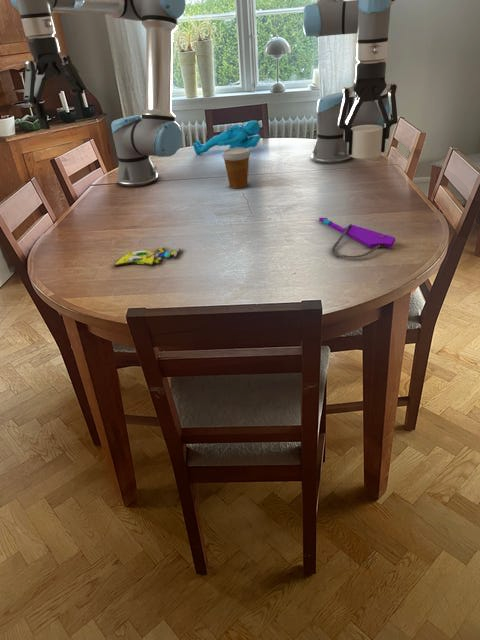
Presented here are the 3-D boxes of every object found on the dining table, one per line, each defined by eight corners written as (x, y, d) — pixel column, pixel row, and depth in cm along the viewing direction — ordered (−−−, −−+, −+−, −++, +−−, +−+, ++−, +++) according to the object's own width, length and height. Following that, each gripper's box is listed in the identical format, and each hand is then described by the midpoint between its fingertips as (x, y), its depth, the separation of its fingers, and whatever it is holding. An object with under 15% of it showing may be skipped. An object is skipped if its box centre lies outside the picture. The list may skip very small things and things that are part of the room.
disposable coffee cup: (220, 189, 168) (217, 154, 161) (231, 180, 175) (228, 146, 168) (246, 190, 164) (243, 154, 158) (255, 181, 171) (253, 147, 165)
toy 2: (171, 262, 119) (113, 263, 121) (171, 266, 119) (114, 266, 121) (180, 245, 127) (126, 246, 129) (180, 248, 128) (127, 249, 130)
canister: (385, 157, 131) (387, 129, 128) (354, 160, 131) (356, 132, 127) (375, 149, 139) (377, 123, 135) (346, 152, 138) (347, 126, 135)
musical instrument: (379, 268, 112) (405, 226, 124) (378, 260, 110) (405, 219, 123) (287, 256, 124) (320, 220, 137) (286, 249, 123) (319, 213, 135)
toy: (198, 134, 217) (260, 114, 207) (206, 157, 223) (267, 139, 212) (187, 143, 204) (253, 123, 194) (196, 168, 209) (261, 149, 199)
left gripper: (11, 40, 114) (38, 134, 126) (86, 32, 132) (104, 114, 143) (-9, 42, 118) (19, 133, 129) (67, 34, 135) (86, 114, 147)
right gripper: (331, 66, 120) (329, 159, 132) (417, 59, 119) (407, 152, 131) (327, 63, 126) (325, 152, 138) (408, 56, 125) (399, 146, 137)
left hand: (64, 123), depth 136 cm, fingers open, 13 cm apart
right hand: (365, 152), depth 135 cm, fingers closed on canister, 8 cm apart
